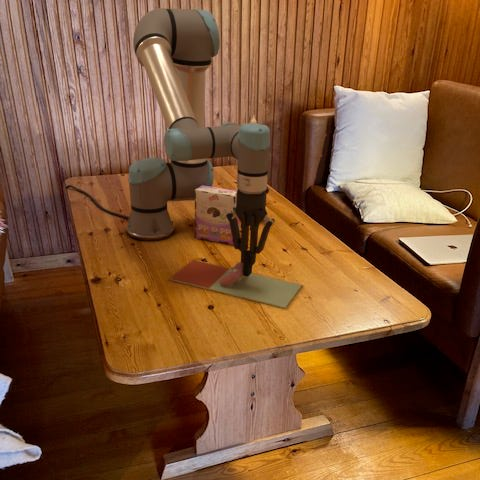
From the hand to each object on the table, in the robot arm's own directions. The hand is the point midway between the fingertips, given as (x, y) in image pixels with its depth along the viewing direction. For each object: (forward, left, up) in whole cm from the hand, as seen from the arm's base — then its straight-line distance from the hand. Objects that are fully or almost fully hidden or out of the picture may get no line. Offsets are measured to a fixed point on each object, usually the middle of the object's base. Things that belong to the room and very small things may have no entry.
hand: (247, 274), depth 145 cm
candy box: (-21, +26, -4) cm, 34 cm away
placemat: (-3, 0, -4) cm, 5 cm away
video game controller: (-4, 0, -3) cm, 5 cm away
